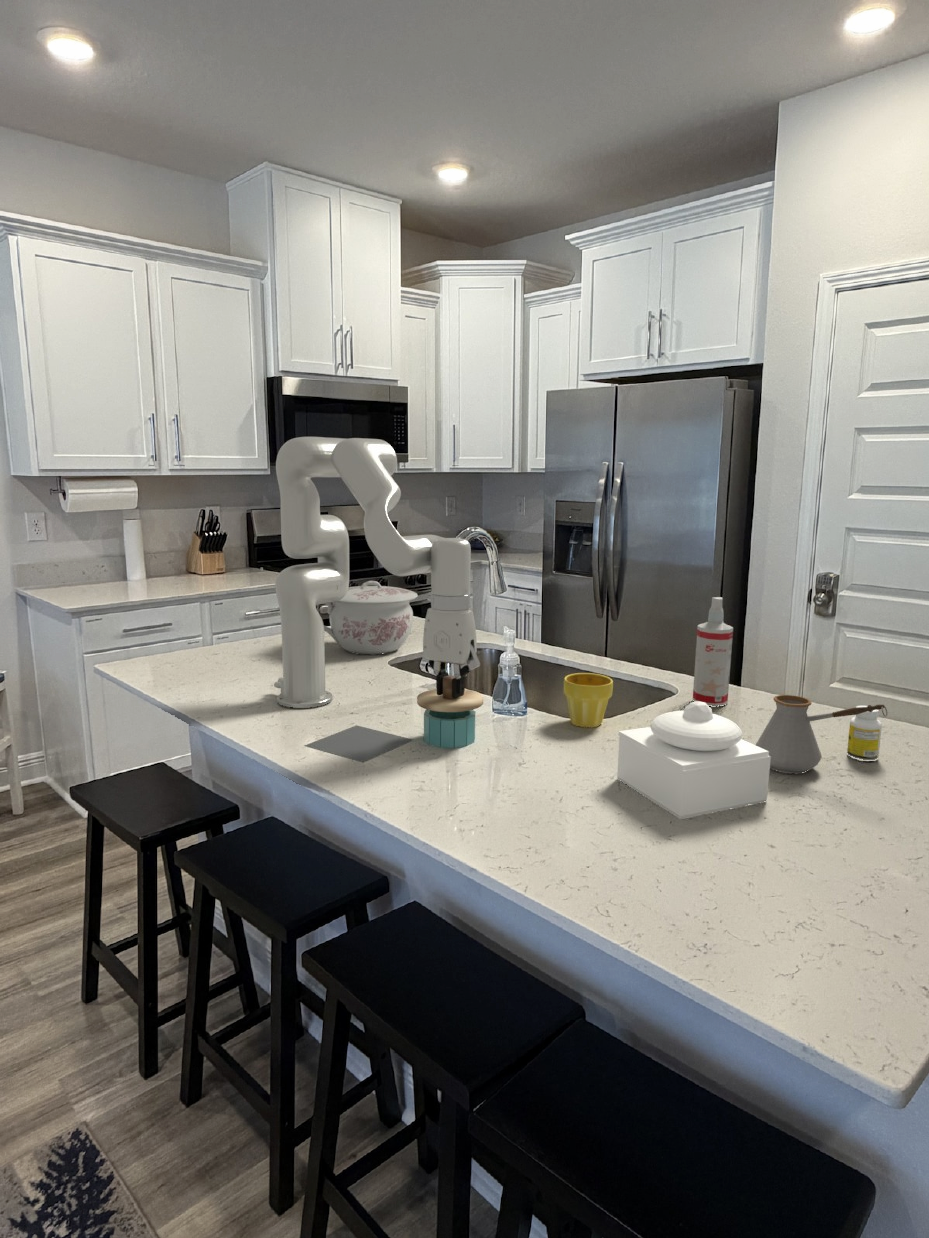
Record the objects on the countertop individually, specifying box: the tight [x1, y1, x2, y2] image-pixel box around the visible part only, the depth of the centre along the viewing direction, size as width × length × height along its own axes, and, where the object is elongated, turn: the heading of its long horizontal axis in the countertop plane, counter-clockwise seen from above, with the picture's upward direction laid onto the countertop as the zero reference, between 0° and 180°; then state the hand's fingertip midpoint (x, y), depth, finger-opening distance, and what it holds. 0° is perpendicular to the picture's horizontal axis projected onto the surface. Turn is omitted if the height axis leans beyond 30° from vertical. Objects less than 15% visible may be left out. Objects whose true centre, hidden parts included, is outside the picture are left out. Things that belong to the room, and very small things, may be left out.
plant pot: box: [563, 672, 614, 728], centre depth 169 cm, size 10×10×10 cm
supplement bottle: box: [846, 705, 883, 760], centre depth 151 cm, size 5×5×10 cm
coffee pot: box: [755, 694, 888, 774], centre depth 142 cm, size 21×12×15 cm, turn 49°
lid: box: [416, 675, 484, 712], centre depth 155 cm, size 13×13×5 cm
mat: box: [303, 724, 414, 763], centre depth 155 cm, size 15×15×1 cm
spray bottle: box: [692, 596, 734, 706], centre depth 184 cm, size 8×8×25 cm
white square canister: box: [616, 701, 771, 820], centre depth 134 cm, size 18×18×16 cm
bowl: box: [423, 709, 476, 749], centre depth 157 cm, size 10×10×6 cm
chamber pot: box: [315, 580, 419, 655], centre depth 234 cm, size 28×28×21 cm
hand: (450, 694), depth 156 cm, fingers closed on lid, 3 cm apart
